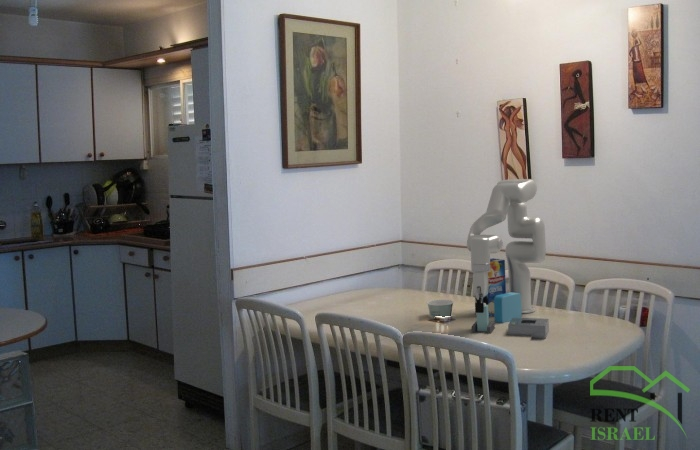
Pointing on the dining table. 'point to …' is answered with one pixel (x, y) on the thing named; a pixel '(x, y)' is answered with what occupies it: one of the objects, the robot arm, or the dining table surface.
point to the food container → (440, 308)
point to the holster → (489, 331)
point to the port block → (529, 327)
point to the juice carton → (495, 282)
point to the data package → (507, 307)
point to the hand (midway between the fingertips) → (481, 310)
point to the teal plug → (483, 319)
